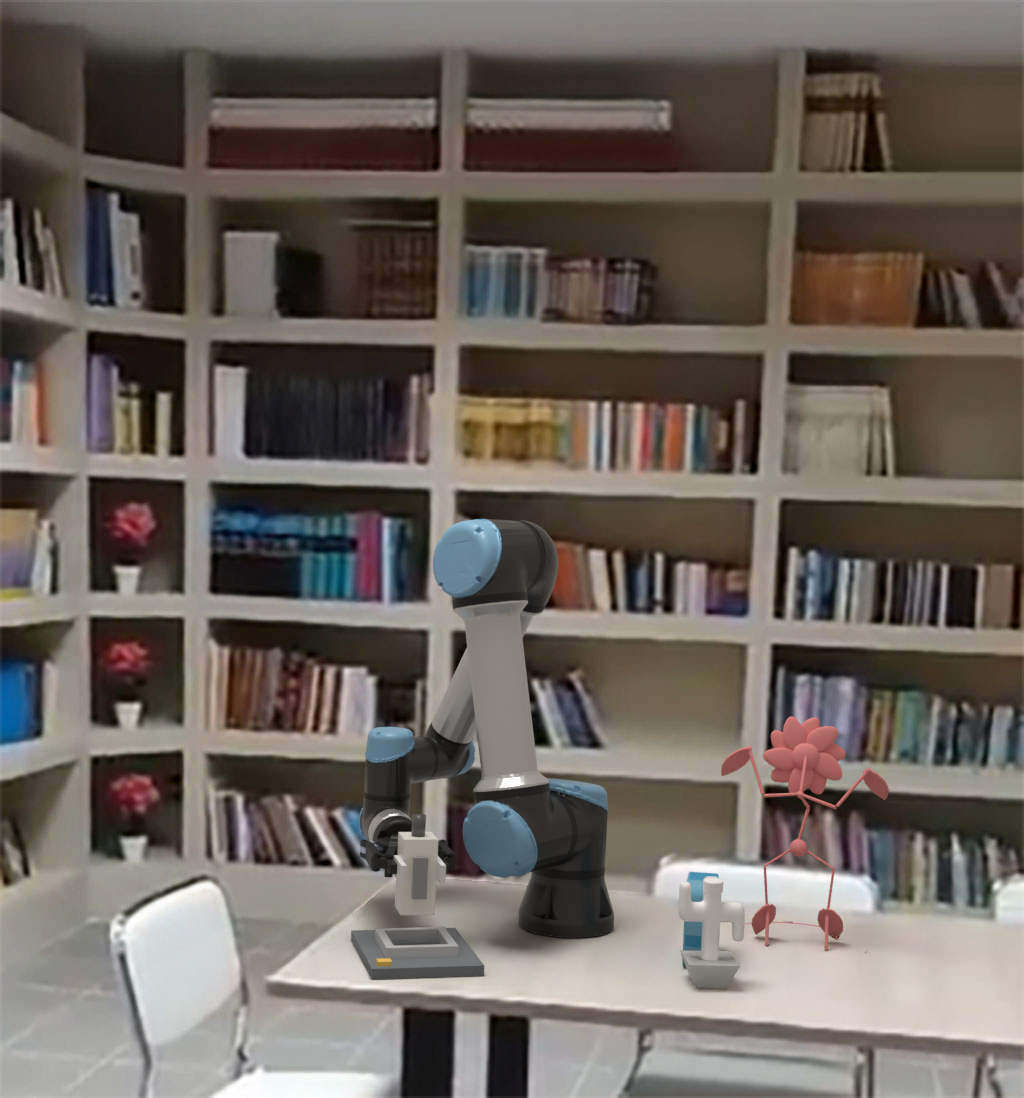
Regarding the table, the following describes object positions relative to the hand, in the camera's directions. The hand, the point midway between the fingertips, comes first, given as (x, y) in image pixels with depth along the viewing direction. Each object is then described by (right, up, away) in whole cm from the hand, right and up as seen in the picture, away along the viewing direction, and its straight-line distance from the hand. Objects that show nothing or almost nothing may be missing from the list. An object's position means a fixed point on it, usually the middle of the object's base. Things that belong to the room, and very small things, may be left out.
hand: (423, 875), depth 236 cm
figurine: (+40, -15, -2) cm, 43 cm away
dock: (-1, -13, +5) cm, 14 cm away
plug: (-2, -6, +5) cm, 8 cm away
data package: (+40, -15, +10) cm, 44 cm away
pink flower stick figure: (+58, -15, +25) cm, 65 cm away
